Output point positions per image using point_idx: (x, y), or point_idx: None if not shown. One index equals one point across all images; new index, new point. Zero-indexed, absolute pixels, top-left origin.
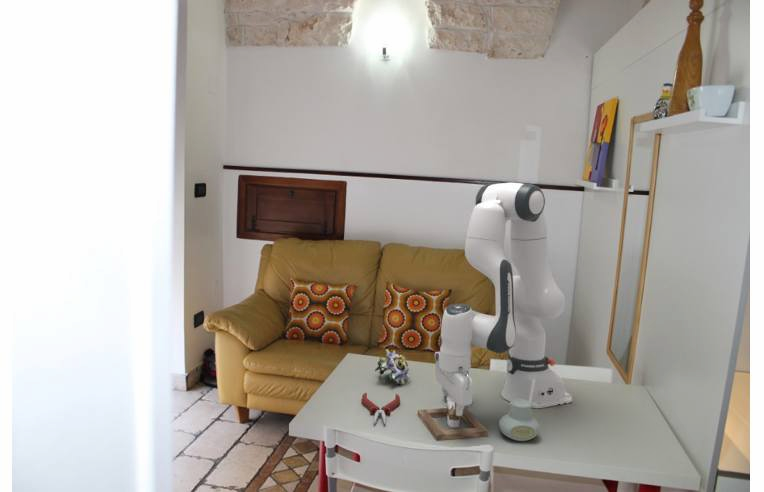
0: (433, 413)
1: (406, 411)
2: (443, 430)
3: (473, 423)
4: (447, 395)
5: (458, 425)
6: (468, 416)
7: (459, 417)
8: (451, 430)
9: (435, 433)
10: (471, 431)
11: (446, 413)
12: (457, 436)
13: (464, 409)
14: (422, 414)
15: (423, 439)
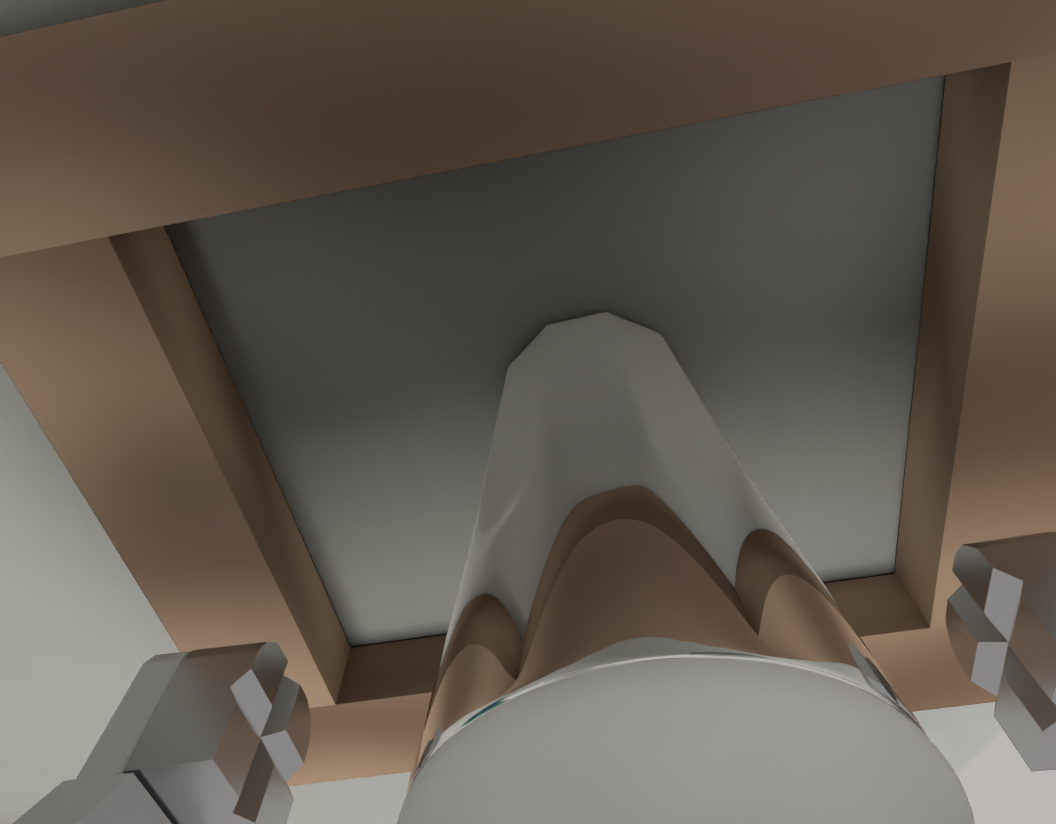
0: (313, 639)
1: None
2: (932, 615)
3: (778, 71)
4: (156, 818)
5: (662, 339)
6: (403, 110)
7: (699, 403)
8: (967, 523)
9: (984, 701)
10: None
11: (239, 464)
12: None
13: (6, 122)
14: (401, 761)
15: (927, 735)
